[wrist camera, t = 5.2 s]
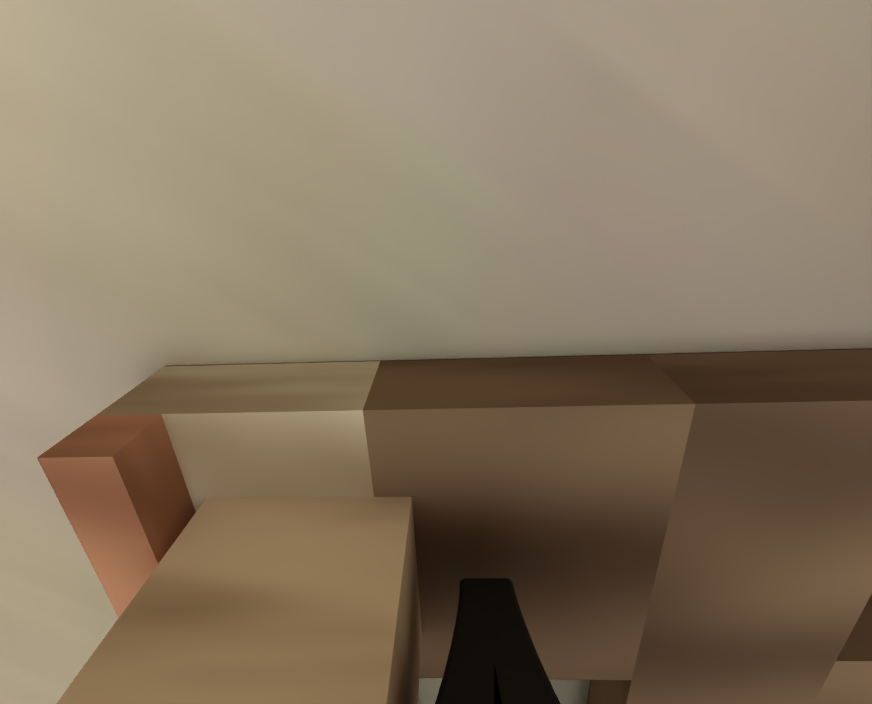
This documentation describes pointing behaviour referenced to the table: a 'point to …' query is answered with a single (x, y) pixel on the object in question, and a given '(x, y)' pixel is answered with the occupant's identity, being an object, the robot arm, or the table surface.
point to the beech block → (271, 610)
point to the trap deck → (543, 501)
